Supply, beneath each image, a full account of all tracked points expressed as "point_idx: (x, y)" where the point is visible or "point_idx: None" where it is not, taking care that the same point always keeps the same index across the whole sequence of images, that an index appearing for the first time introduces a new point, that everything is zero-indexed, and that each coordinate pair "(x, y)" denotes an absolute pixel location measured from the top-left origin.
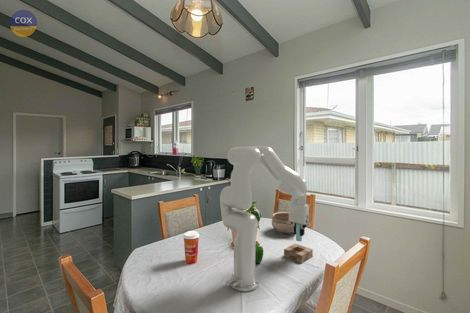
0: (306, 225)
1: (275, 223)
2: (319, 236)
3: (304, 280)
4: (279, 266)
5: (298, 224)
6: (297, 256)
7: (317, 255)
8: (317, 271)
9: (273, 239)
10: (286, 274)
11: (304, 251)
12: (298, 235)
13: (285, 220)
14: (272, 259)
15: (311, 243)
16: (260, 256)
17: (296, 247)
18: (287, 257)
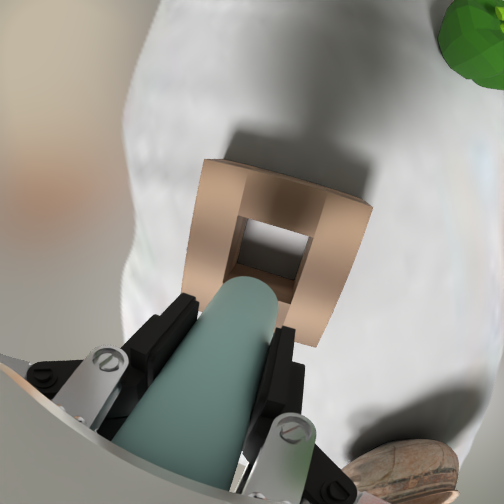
0: (21, 373)
1: (447, 463)
2: (246, 461)
3: (164, 16)
4: (330, 50)
5: (146, 434)
6: (246, 167)
7: None
8: (130, 126)
9: (446, 380)
10: (257, 2)
11: (211, 244)
12: (222, 307)
13: (398, 496)
14: (408, 116)
15: None
16: (446, 13)
17: (292, 297)
18: (333, 189)
